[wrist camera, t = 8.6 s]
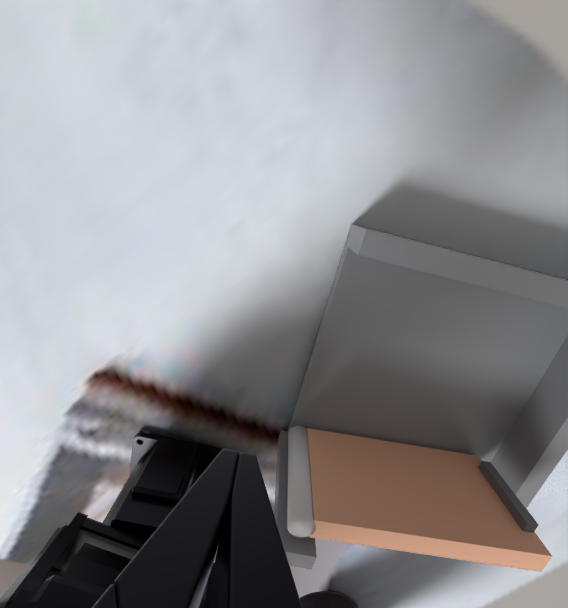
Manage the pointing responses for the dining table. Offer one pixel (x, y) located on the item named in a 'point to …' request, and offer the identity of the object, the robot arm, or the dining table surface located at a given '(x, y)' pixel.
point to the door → (407, 500)
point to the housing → (437, 362)
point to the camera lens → (327, 600)
